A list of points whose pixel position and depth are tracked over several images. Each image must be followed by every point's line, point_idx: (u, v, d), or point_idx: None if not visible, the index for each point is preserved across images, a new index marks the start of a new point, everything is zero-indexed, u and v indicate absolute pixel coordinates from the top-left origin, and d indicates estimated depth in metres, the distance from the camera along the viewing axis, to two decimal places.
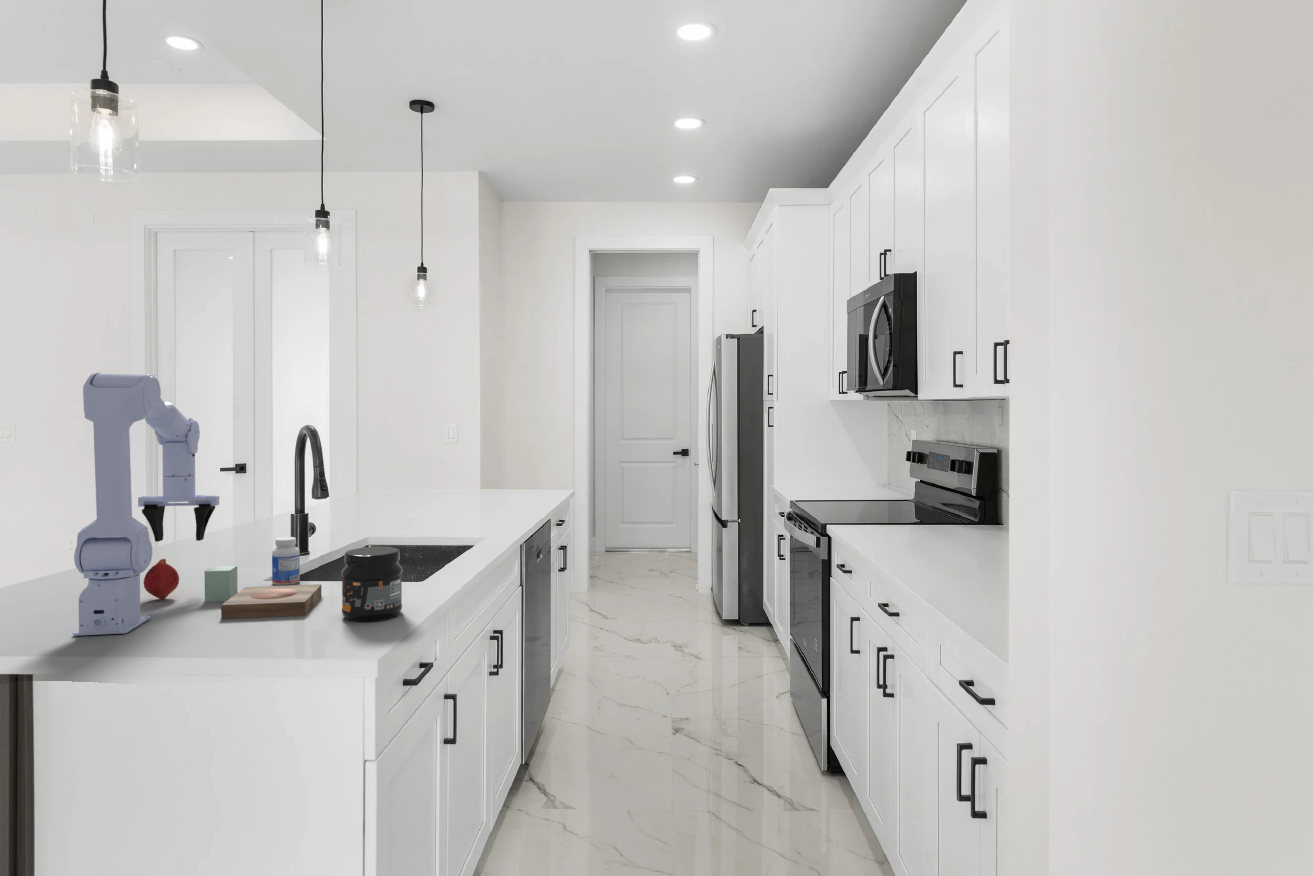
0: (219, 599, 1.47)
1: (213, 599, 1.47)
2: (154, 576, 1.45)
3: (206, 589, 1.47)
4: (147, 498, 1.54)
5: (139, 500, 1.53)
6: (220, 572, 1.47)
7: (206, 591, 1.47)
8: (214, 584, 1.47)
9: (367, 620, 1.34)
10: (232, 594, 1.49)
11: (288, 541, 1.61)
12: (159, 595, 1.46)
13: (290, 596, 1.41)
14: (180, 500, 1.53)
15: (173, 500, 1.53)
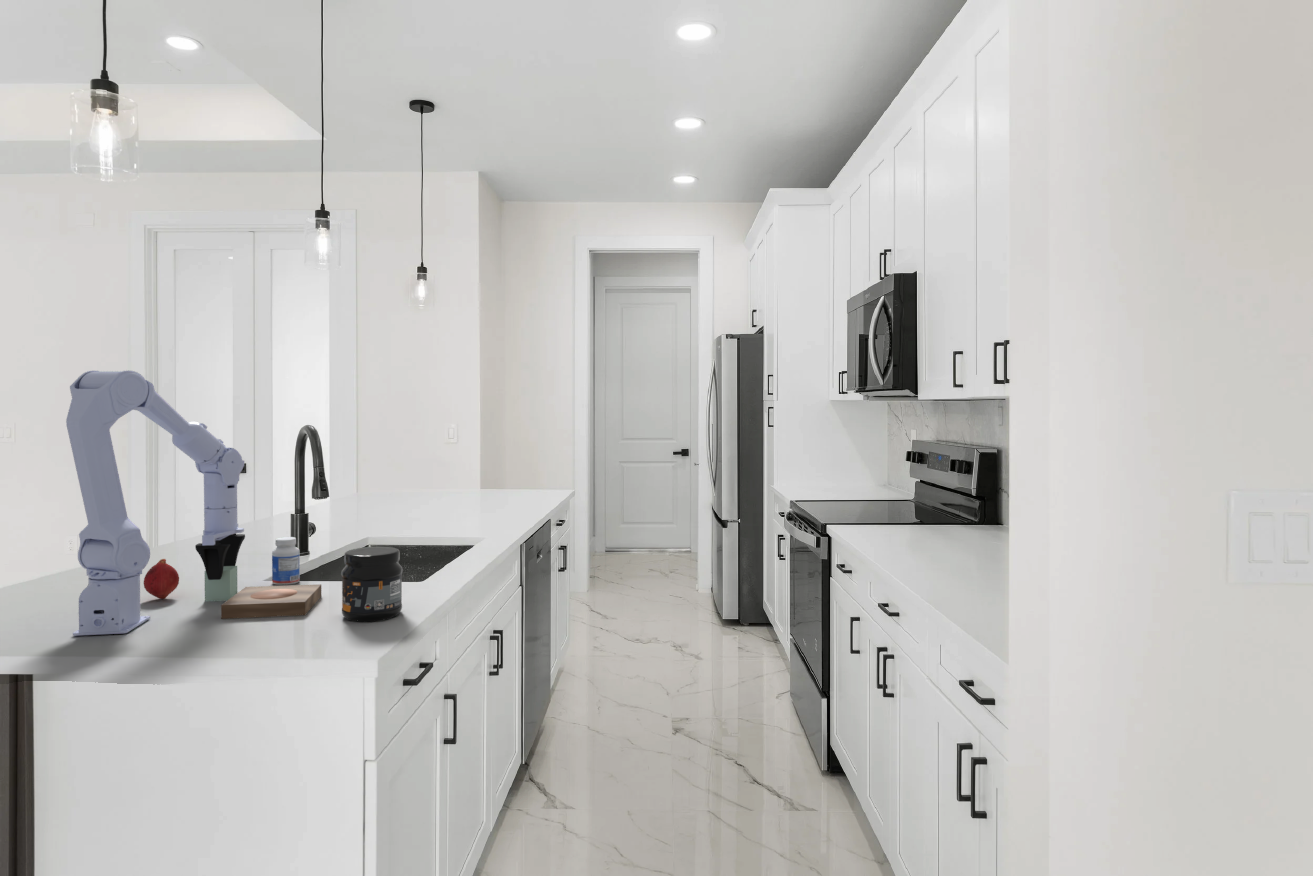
0: (219, 599, 1.47)
1: (213, 599, 1.47)
2: (154, 576, 1.45)
3: (206, 589, 1.47)
4: None
5: None
6: None
7: (206, 591, 1.47)
8: (214, 584, 1.47)
9: (367, 620, 1.34)
10: (232, 594, 1.49)
11: (288, 541, 1.61)
12: (159, 595, 1.46)
13: (290, 596, 1.41)
14: None
15: None
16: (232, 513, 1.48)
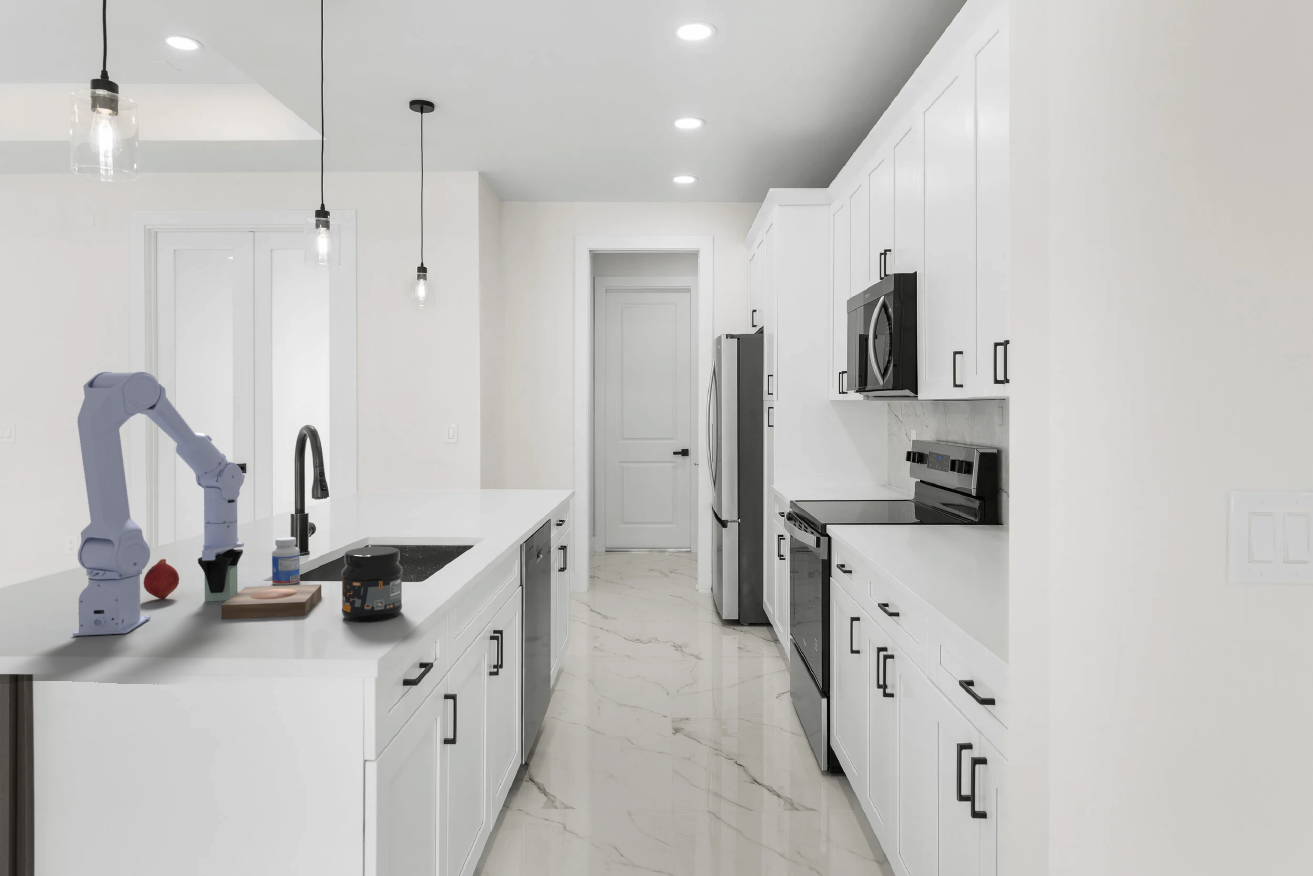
0: (219, 599, 1.47)
1: (213, 599, 1.47)
2: (154, 576, 1.45)
3: (206, 588, 1.47)
4: None
5: None
6: None
7: (206, 591, 1.47)
8: None
9: (367, 620, 1.34)
10: (232, 594, 1.49)
11: (288, 541, 1.61)
12: (159, 595, 1.46)
13: (290, 596, 1.41)
14: None
15: None
16: (232, 527, 1.48)
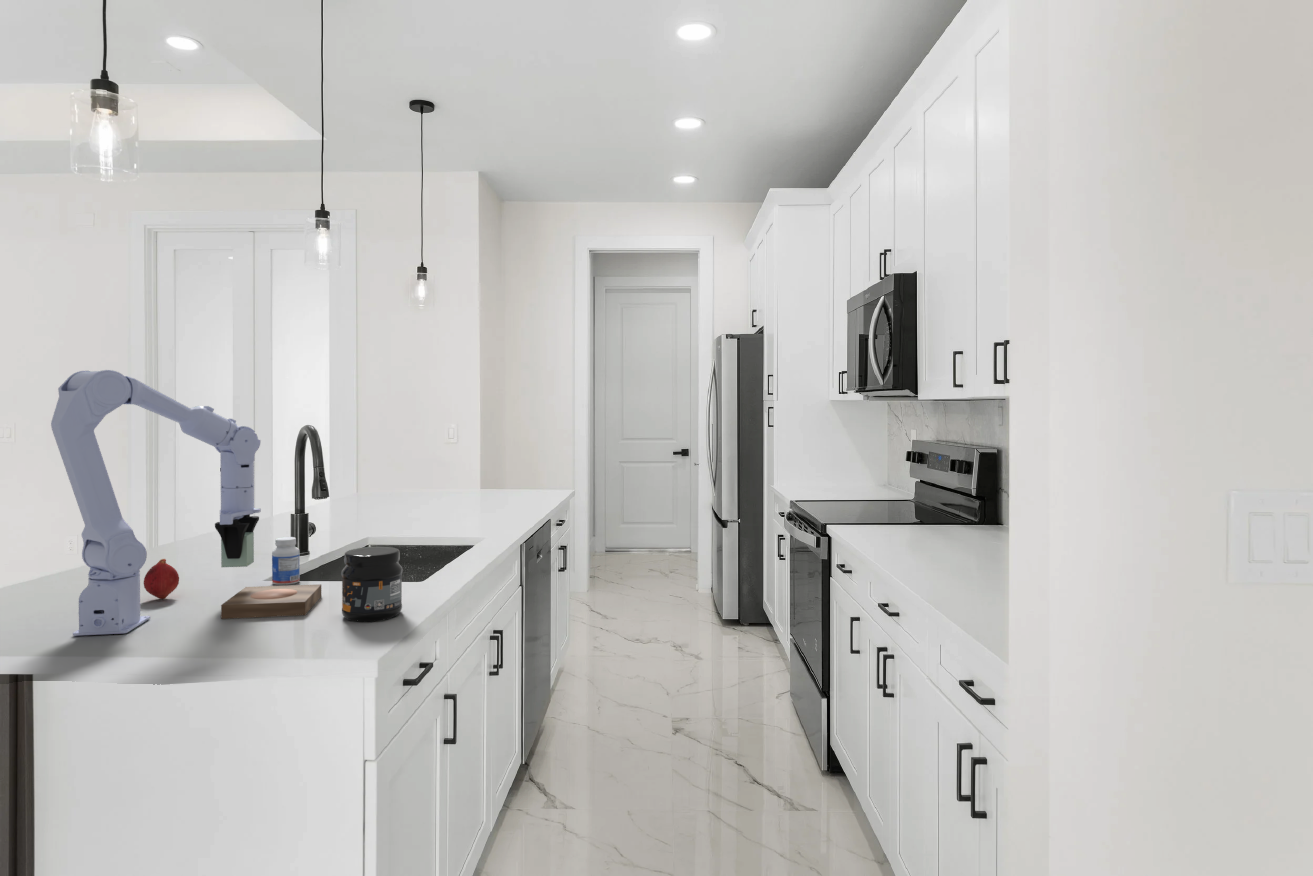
0: (236, 565, 1.45)
1: (230, 565, 1.45)
2: (154, 576, 1.45)
3: (223, 554, 1.44)
4: None
5: None
6: None
7: (223, 557, 1.44)
8: None
9: (367, 620, 1.34)
10: (249, 560, 1.47)
11: (288, 541, 1.61)
12: (159, 595, 1.46)
13: (290, 596, 1.41)
14: None
15: None
16: (249, 492, 1.46)
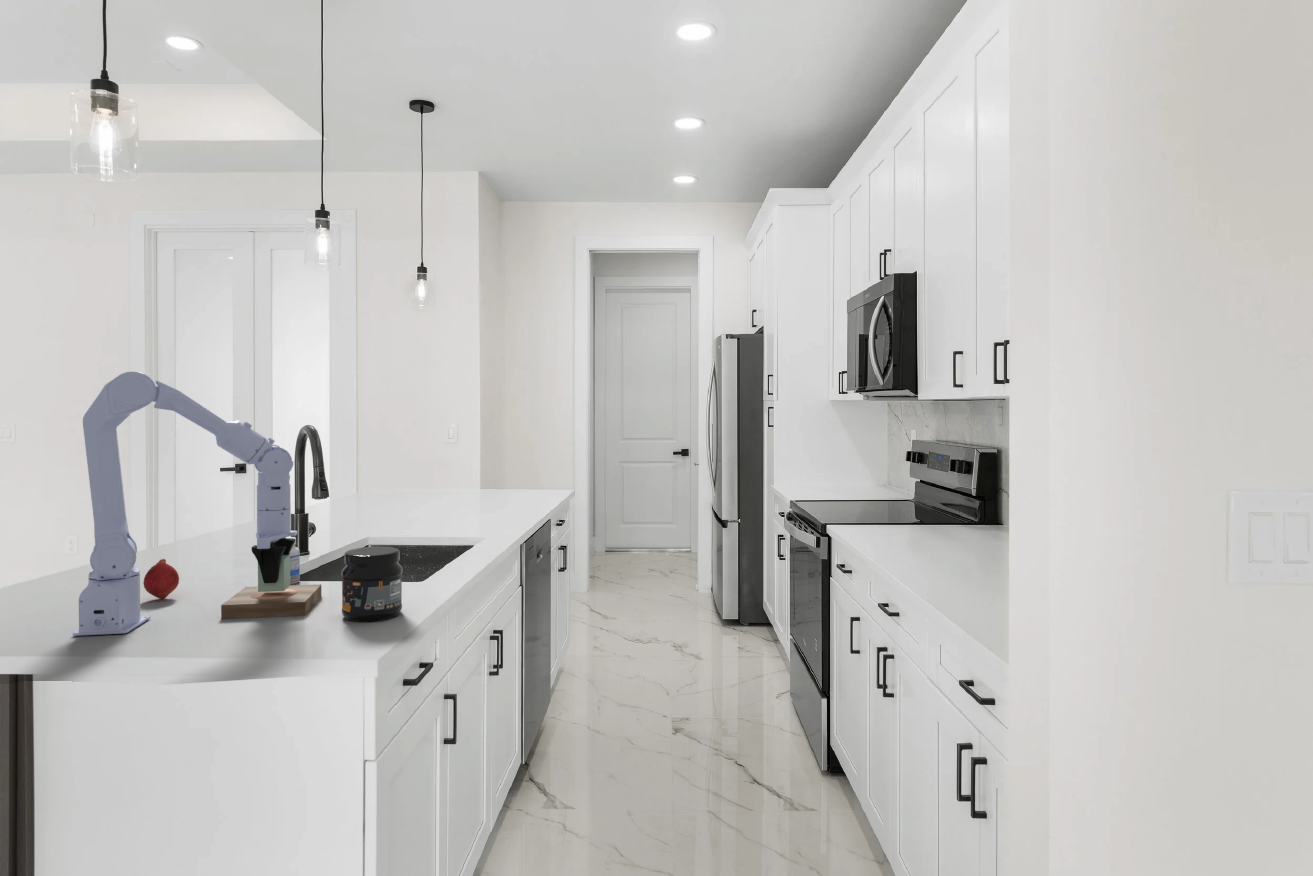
0: (273, 589, 1.41)
1: (266, 589, 1.41)
2: (154, 576, 1.45)
3: (259, 578, 1.40)
4: None
5: None
6: None
7: (259, 581, 1.40)
8: None
9: (367, 620, 1.34)
10: (286, 584, 1.43)
11: None
12: (159, 595, 1.46)
13: (290, 596, 1.41)
14: None
15: None
16: (285, 515, 1.42)
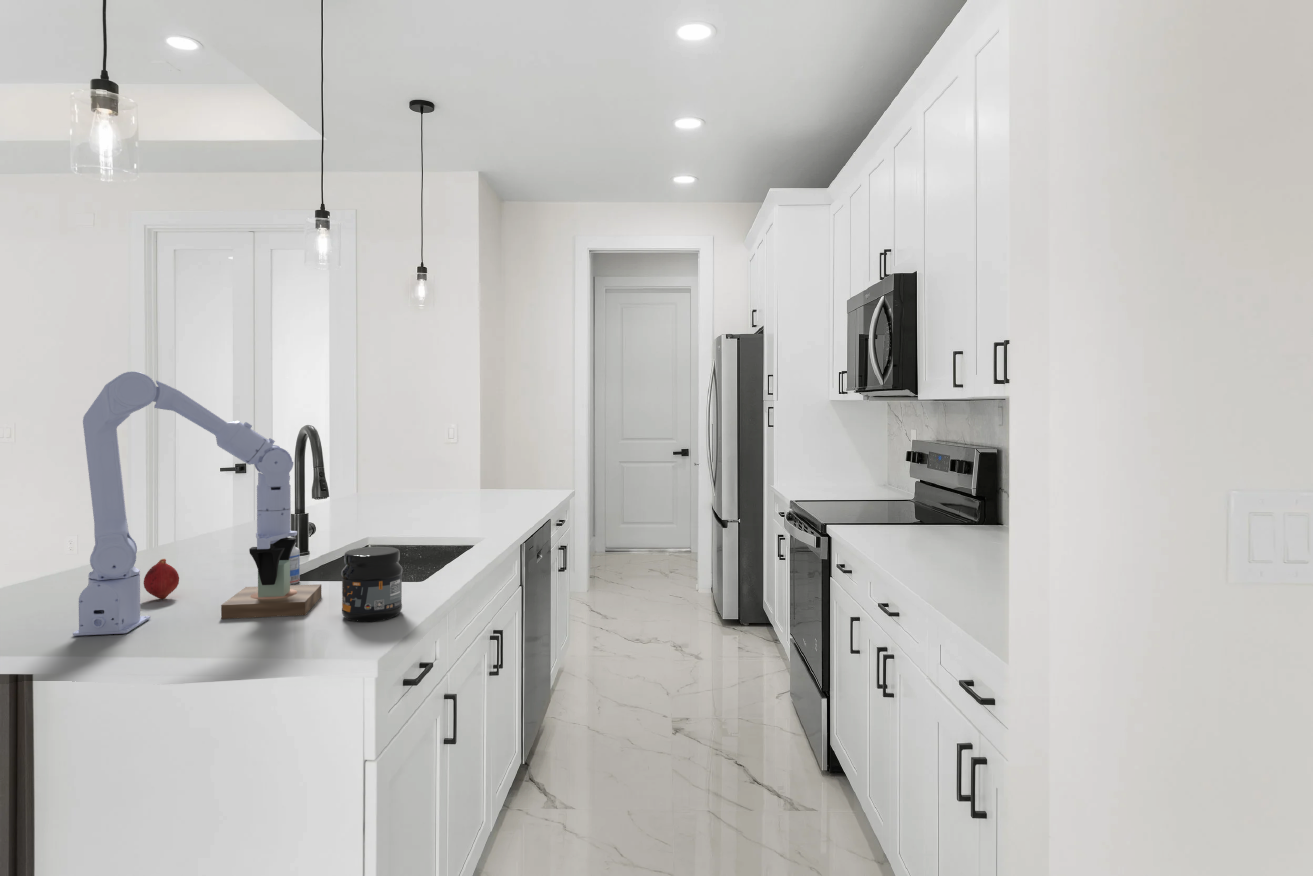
0: (273, 594, 1.41)
1: (266, 594, 1.41)
2: (154, 576, 1.45)
3: (259, 584, 1.40)
4: None
5: None
6: None
7: (259, 586, 1.40)
8: None
9: (367, 620, 1.34)
10: (286, 589, 1.43)
11: None
12: (159, 595, 1.46)
13: (290, 596, 1.41)
14: None
15: None
16: (285, 515, 1.42)
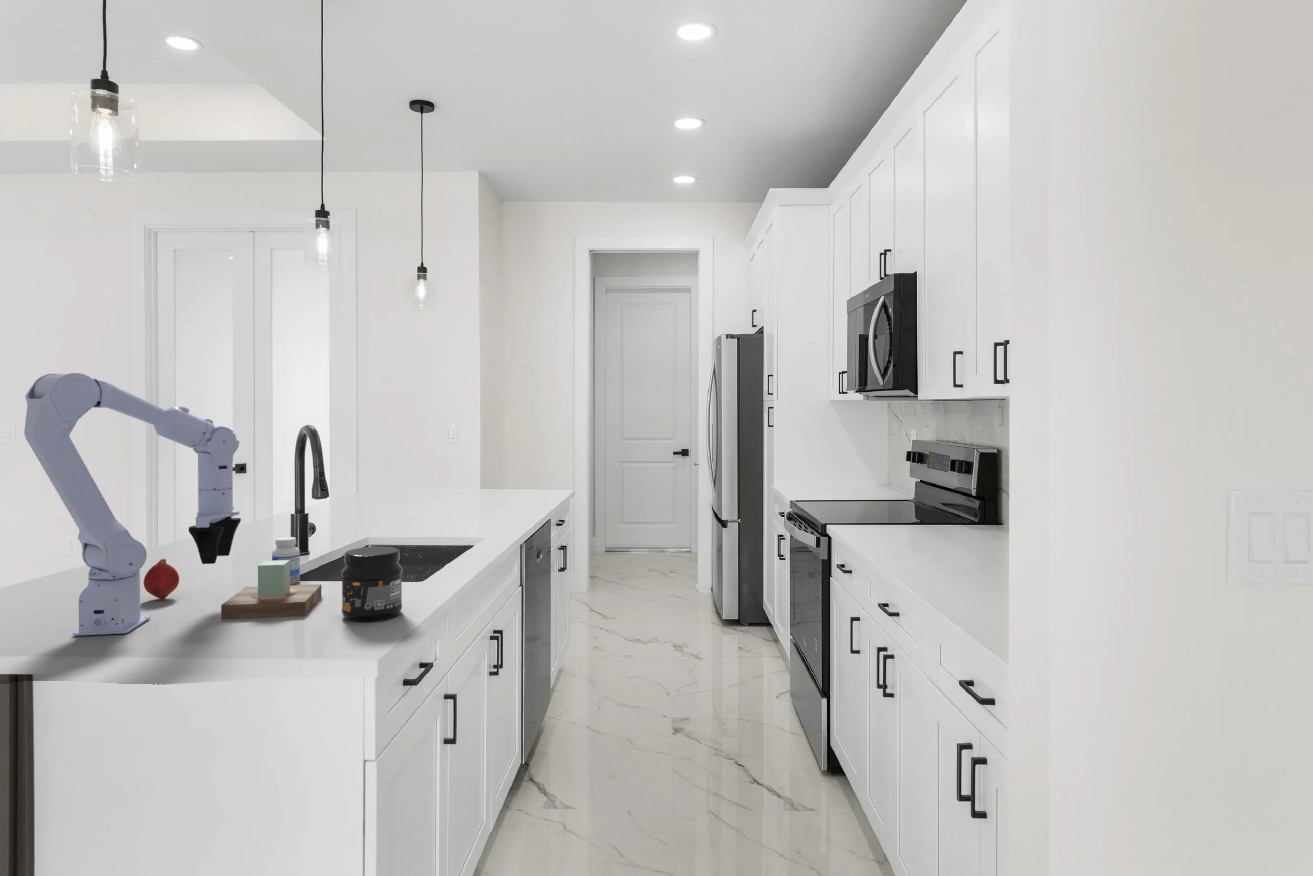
0: (273, 594, 1.41)
1: (266, 594, 1.41)
2: (154, 576, 1.45)
3: (259, 584, 1.40)
4: None
5: None
6: (274, 566, 1.41)
7: (259, 586, 1.40)
8: (268, 578, 1.41)
9: (367, 620, 1.34)
10: (286, 589, 1.43)
11: (288, 541, 1.61)
12: (159, 595, 1.46)
13: (290, 596, 1.41)
14: None
15: None
16: (227, 495, 1.42)
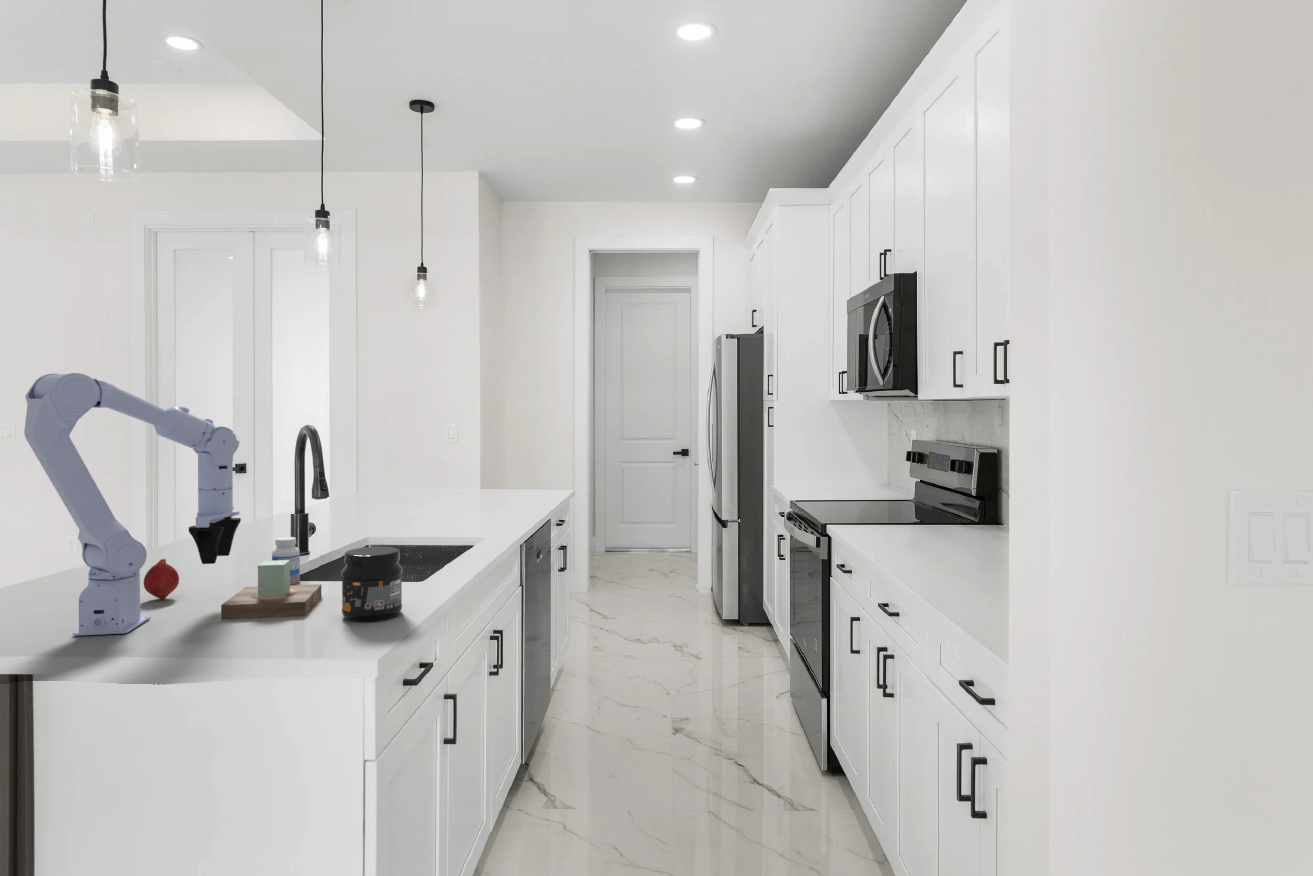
0: (273, 594, 1.41)
1: (266, 594, 1.41)
2: (154, 576, 1.45)
3: (259, 584, 1.40)
4: None
5: None
6: (274, 566, 1.41)
7: (259, 586, 1.40)
8: (268, 578, 1.41)
9: (367, 620, 1.34)
10: (286, 589, 1.43)
11: (288, 541, 1.61)
12: (159, 595, 1.46)
13: (290, 596, 1.41)
14: None
15: None
16: (227, 495, 1.42)
